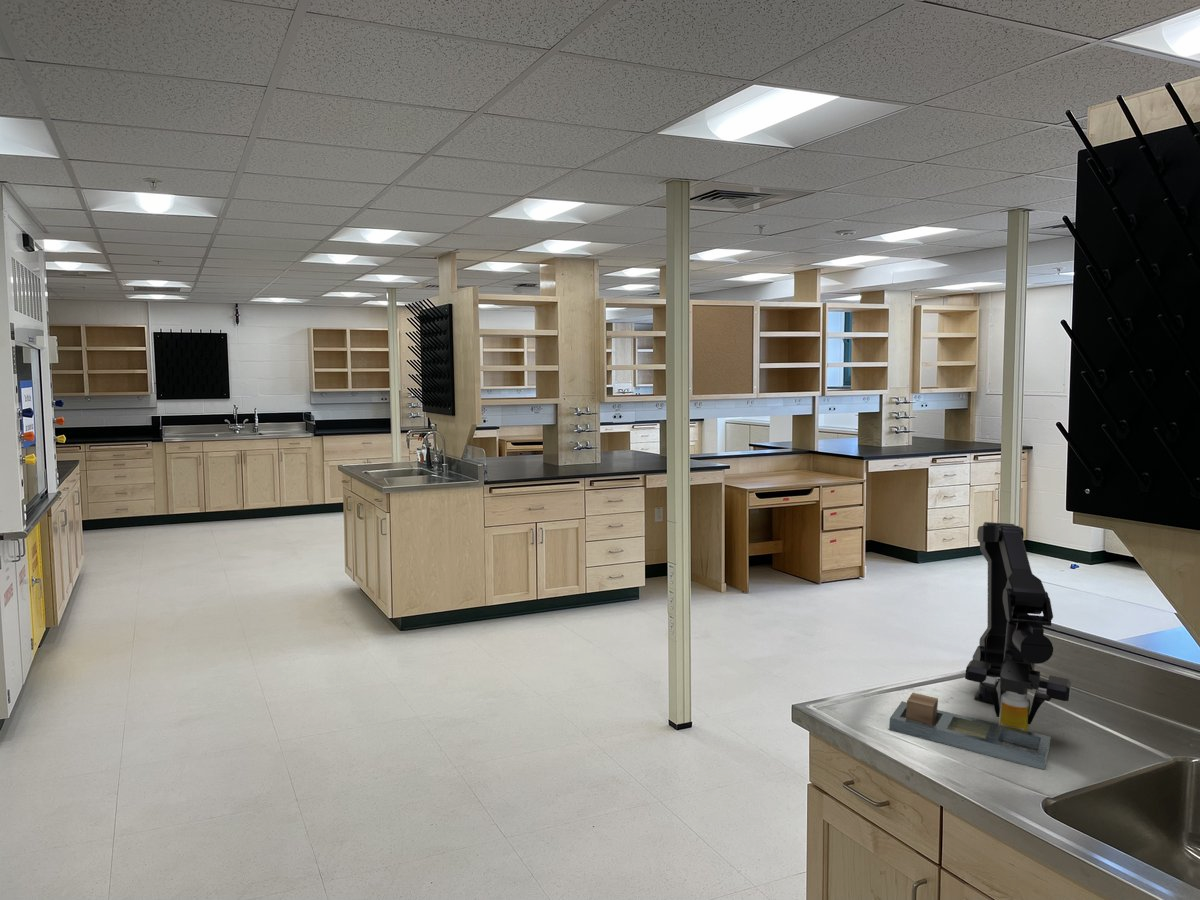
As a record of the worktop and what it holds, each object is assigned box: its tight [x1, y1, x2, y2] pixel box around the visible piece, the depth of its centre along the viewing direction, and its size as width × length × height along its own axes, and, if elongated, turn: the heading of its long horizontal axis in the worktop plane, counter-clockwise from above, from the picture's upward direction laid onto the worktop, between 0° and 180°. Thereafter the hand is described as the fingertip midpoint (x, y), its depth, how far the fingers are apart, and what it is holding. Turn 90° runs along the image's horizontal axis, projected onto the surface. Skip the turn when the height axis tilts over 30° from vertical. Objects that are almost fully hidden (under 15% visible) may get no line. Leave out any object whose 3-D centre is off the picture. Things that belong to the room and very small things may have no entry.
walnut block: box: [906, 692, 939, 726], centre depth 175 cm, size 5×5×6 cm
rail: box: [888, 700, 1052, 770], centre depth 170 cm, size 10×28×2 cm, turn 58°
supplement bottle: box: [997, 689, 1031, 732], centre depth 174 cm, size 5×5×10 cm
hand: (1013, 720), depth 174 cm, fingers closed on supplement bottle, 5 cm apart
